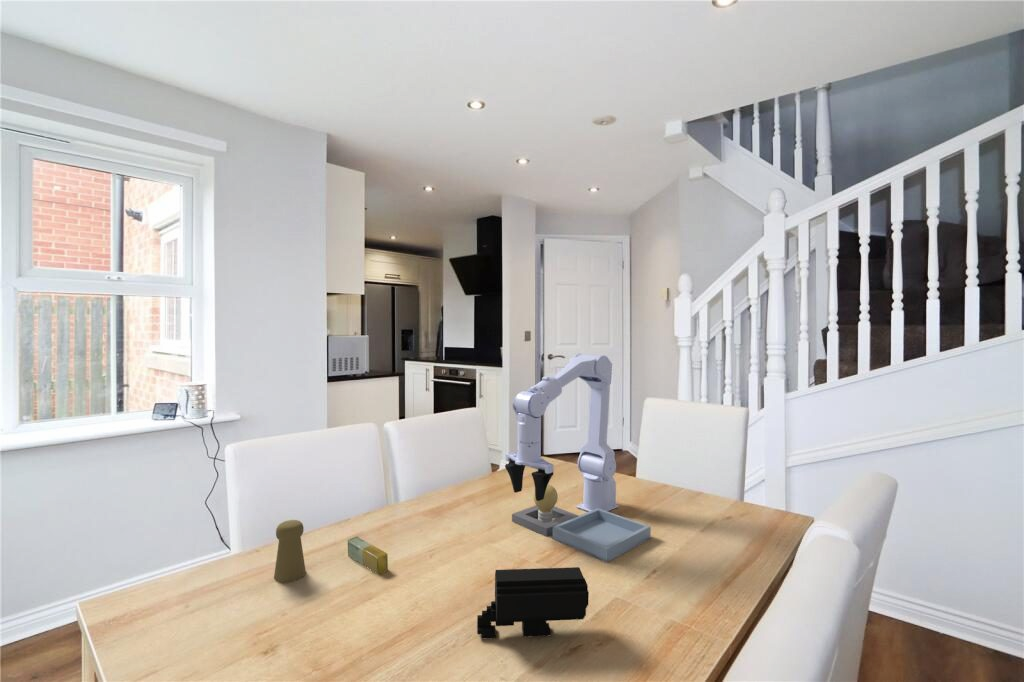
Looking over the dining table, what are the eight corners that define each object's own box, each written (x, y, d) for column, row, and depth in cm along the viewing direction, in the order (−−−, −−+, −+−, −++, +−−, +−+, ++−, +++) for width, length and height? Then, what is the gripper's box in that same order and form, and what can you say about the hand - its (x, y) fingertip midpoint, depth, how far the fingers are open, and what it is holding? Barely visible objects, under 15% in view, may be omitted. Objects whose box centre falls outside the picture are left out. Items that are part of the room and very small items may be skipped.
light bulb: (557, 518, 132) (557, 481, 132) (557, 527, 126) (557, 489, 126) (533, 516, 133) (534, 480, 133) (532, 526, 127) (532, 488, 126)
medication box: (347, 557, 110) (346, 539, 109) (357, 552, 112) (357, 535, 111) (377, 576, 102) (377, 557, 101) (389, 570, 104) (388, 552, 104)
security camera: (476, 622, 86) (477, 565, 86) (580, 617, 88) (581, 562, 87) (477, 648, 79) (478, 587, 79) (590, 643, 81) (591, 583, 80)
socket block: (543, 509, 138) (543, 502, 138) (578, 522, 129) (578, 515, 129) (511, 521, 130) (512, 514, 130) (546, 536, 121) (546, 528, 121)
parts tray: (597, 519, 132) (597, 508, 132) (650, 538, 120) (650, 526, 120) (552, 538, 119) (552, 526, 119) (606, 562, 108) (607, 549, 108)
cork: (312, 570, 103) (312, 518, 103) (290, 584, 97) (290, 530, 97) (289, 565, 105) (289, 514, 105) (266, 579, 99) (266, 525, 99)
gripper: (497, 438, 123) (496, 491, 123) (539, 449, 112) (538, 507, 113) (517, 433, 128) (516, 485, 128) (559, 444, 117) (559, 500, 118)
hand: (528, 495), depth 121 cm, fingers open, 7 cm apart
